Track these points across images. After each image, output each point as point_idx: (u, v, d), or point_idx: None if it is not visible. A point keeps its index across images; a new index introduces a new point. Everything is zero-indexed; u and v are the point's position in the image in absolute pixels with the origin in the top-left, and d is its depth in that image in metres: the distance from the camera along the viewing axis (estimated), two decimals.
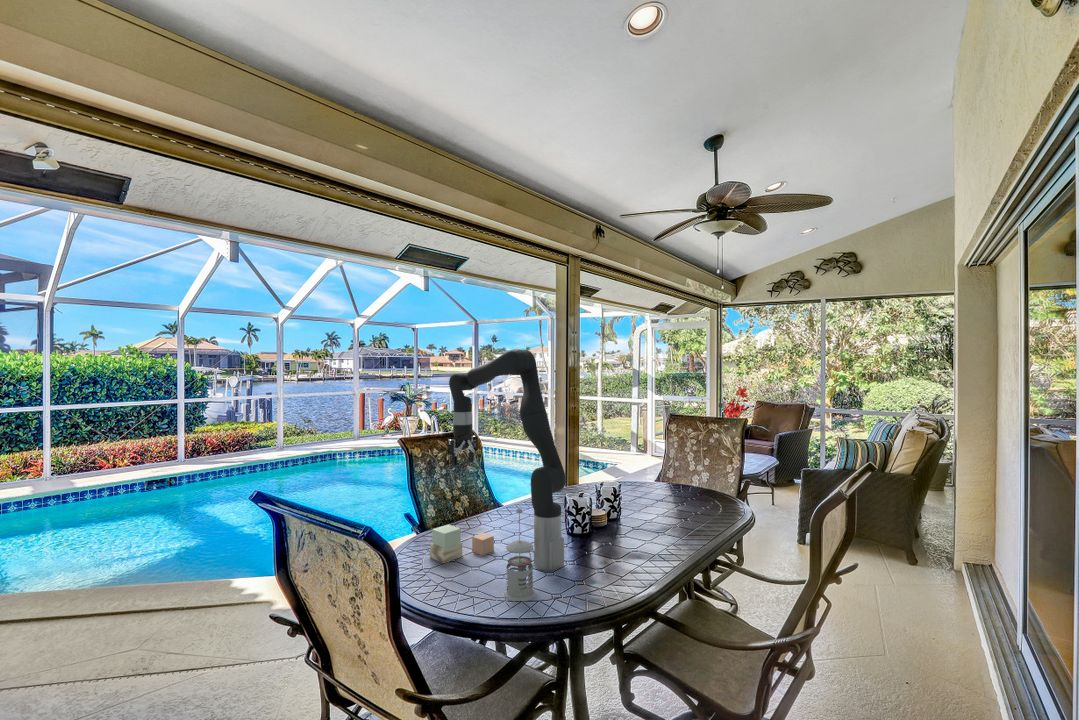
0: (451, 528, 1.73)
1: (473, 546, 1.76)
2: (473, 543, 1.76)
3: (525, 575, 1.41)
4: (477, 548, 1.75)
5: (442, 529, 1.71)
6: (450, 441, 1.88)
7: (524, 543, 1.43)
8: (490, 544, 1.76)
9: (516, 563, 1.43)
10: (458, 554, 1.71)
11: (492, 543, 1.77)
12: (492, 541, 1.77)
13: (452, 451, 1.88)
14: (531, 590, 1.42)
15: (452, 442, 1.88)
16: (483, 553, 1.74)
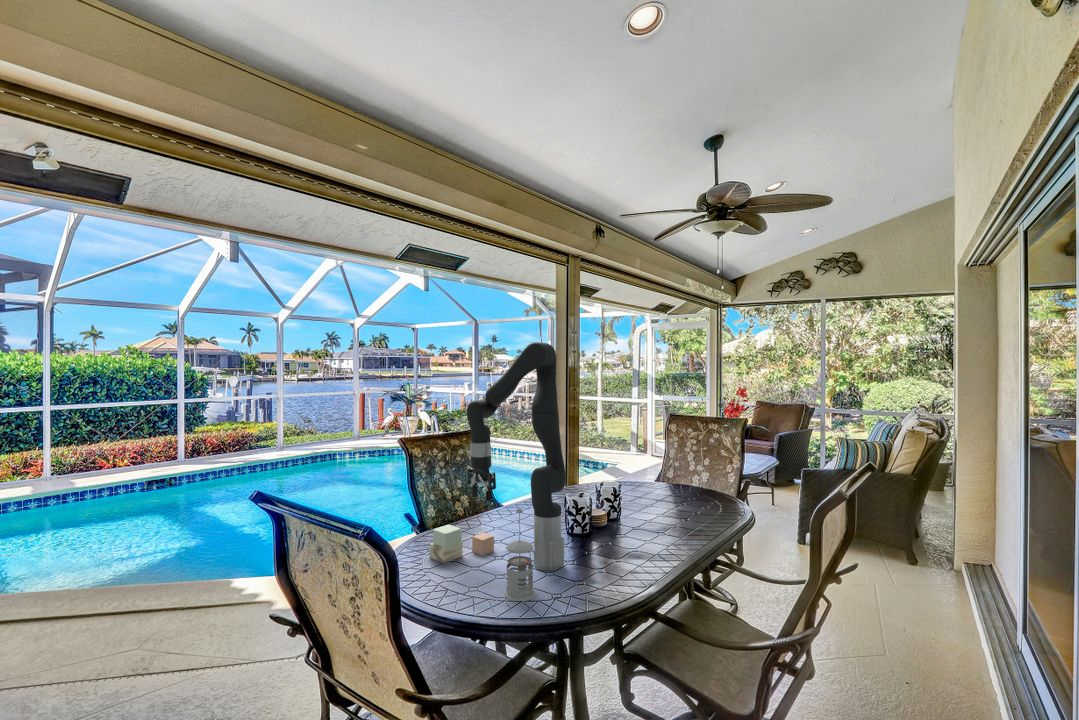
0: (452, 528, 1.73)
1: (473, 546, 1.76)
2: (473, 543, 1.76)
3: (525, 575, 1.41)
4: (477, 548, 1.75)
5: (442, 529, 1.71)
6: (493, 474, 1.74)
7: (524, 543, 1.43)
8: (490, 544, 1.76)
9: (516, 563, 1.43)
10: (458, 554, 1.71)
11: (492, 543, 1.77)
12: (492, 541, 1.77)
13: None
14: (531, 590, 1.42)
15: None
16: (483, 553, 1.74)
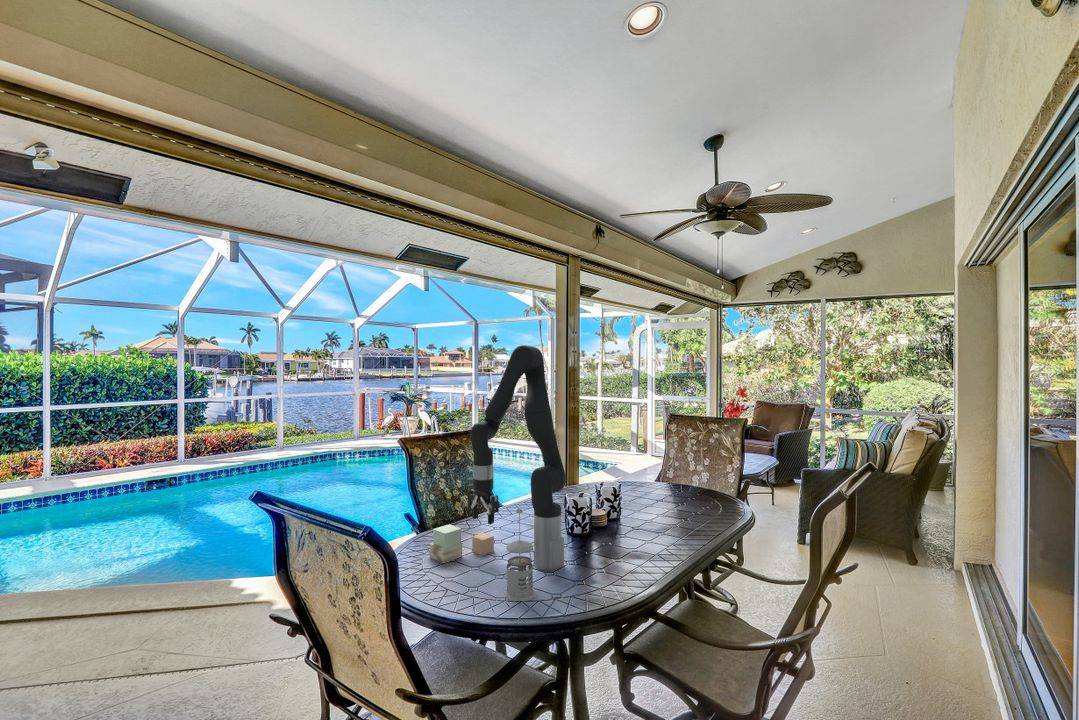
0: (452, 528, 1.73)
1: (473, 546, 1.76)
2: (473, 543, 1.76)
3: (525, 575, 1.41)
4: (477, 548, 1.75)
5: (442, 529, 1.72)
6: (496, 497, 1.73)
7: (524, 543, 1.43)
8: (490, 544, 1.76)
9: (516, 563, 1.43)
10: (458, 554, 1.71)
11: (492, 543, 1.77)
12: (492, 541, 1.77)
13: None
14: (531, 590, 1.42)
15: None
16: (483, 553, 1.74)
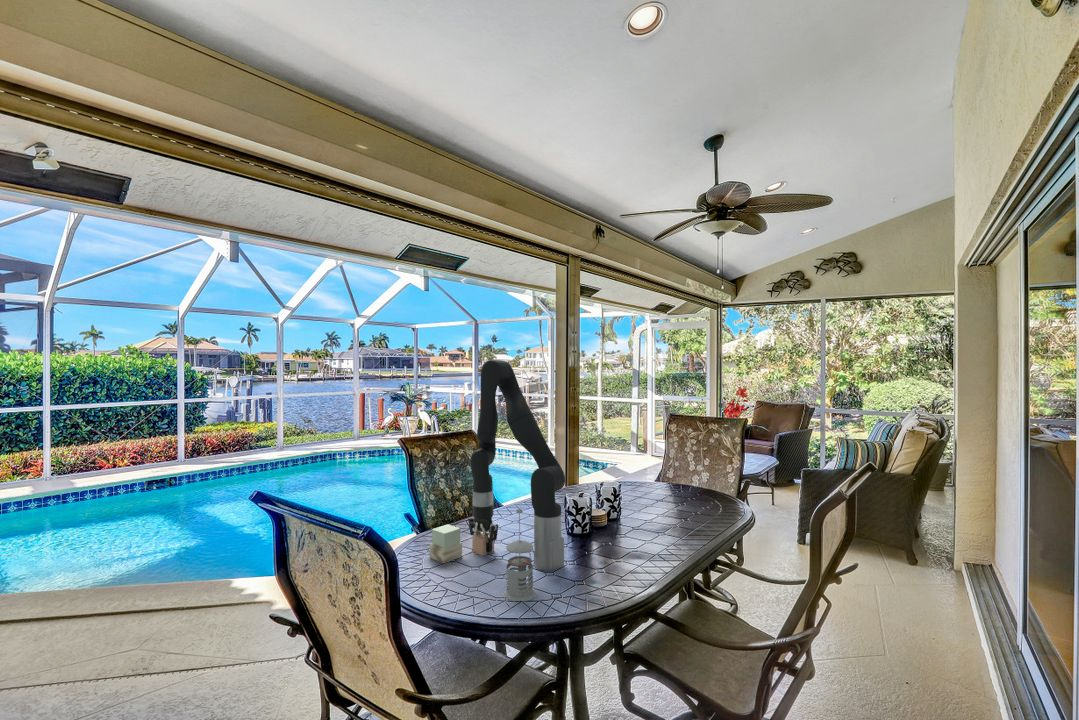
0: (451, 528, 1.73)
1: (473, 546, 1.77)
2: (473, 543, 1.77)
3: (525, 575, 1.41)
4: (477, 548, 1.75)
5: (441, 529, 1.71)
6: (496, 527, 1.73)
7: (524, 543, 1.43)
8: None
9: (516, 563, 1.43)
10: (458, 554, 1.71)
11: (492, 543, 1.77)
12: (492, 541, 1.77)
13: None
14: (531, 590, 1.42)
15: None
16: (483, 553, 1.74)
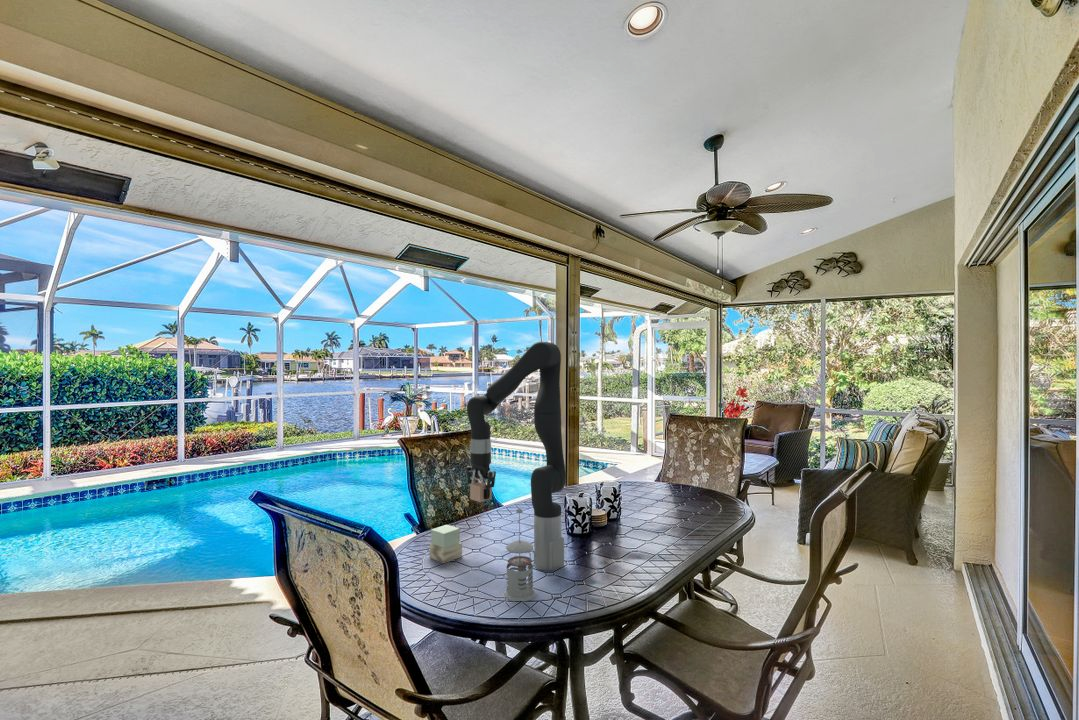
0: (450, 528, 1.73)
1: (471, 493, 1.77)
2: (471, 490, 1.77)
3: (525, 575, 1.41)
4: (475, 495, 1.75)
5: (441, 529, 1.71)
6: (494, 473, 1.73)
7: (524, 543, 1.43)
8: None
9: (516, 563, 1.43)
10: (458, 554, 1.71)
11: (490, 490, 1.77)
12: (490, 489, 1.77)
13: None
14: (531, 590, 1.42)
15: None
16: (481, 499, 1.74)
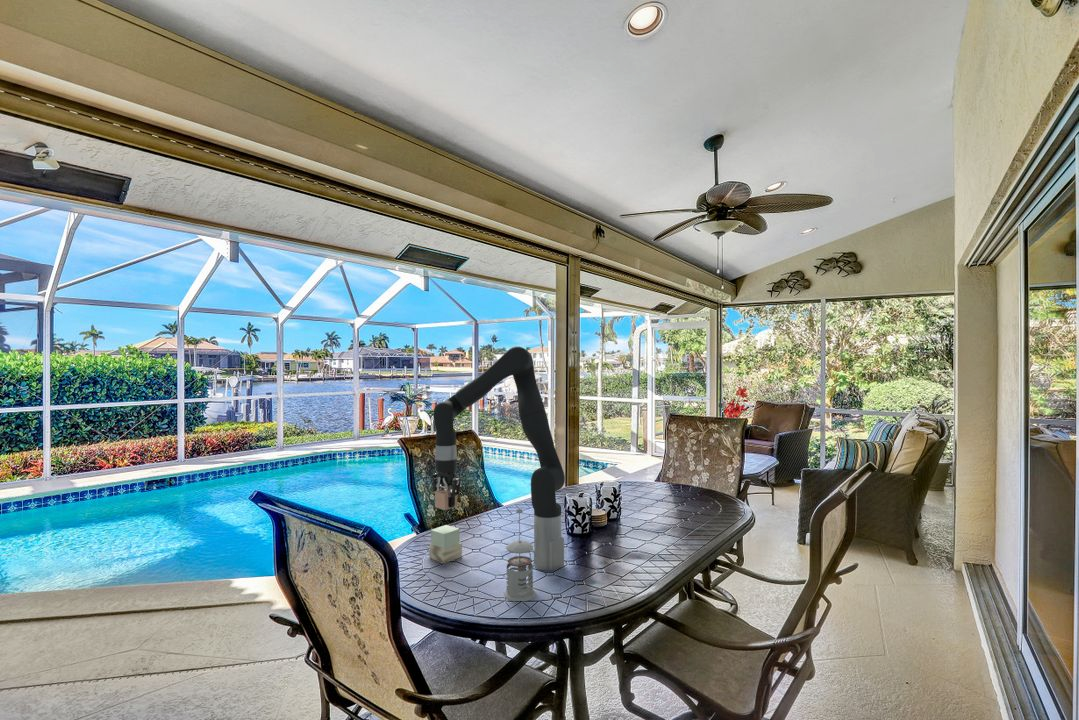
0: (450, 528, 1.73)
1: (436, 501, 1.72)
2: (436, 498, 1.72)
3: (525, 575, 1.41)
4: (439, 503, 1.71)
5: (441, 530, 1.71)
6: (459, 481, 1.68)
7: (524, 543, 1.43)
8: None
9: (516, 563, 1.43)
10: (458, 554, 1.71)
11: (455, 498, 1.72)
12: (456, 496, 1.72)
13: None
14: (531, 590, 1.42)
15: None
16: (445, 507, 1.69)
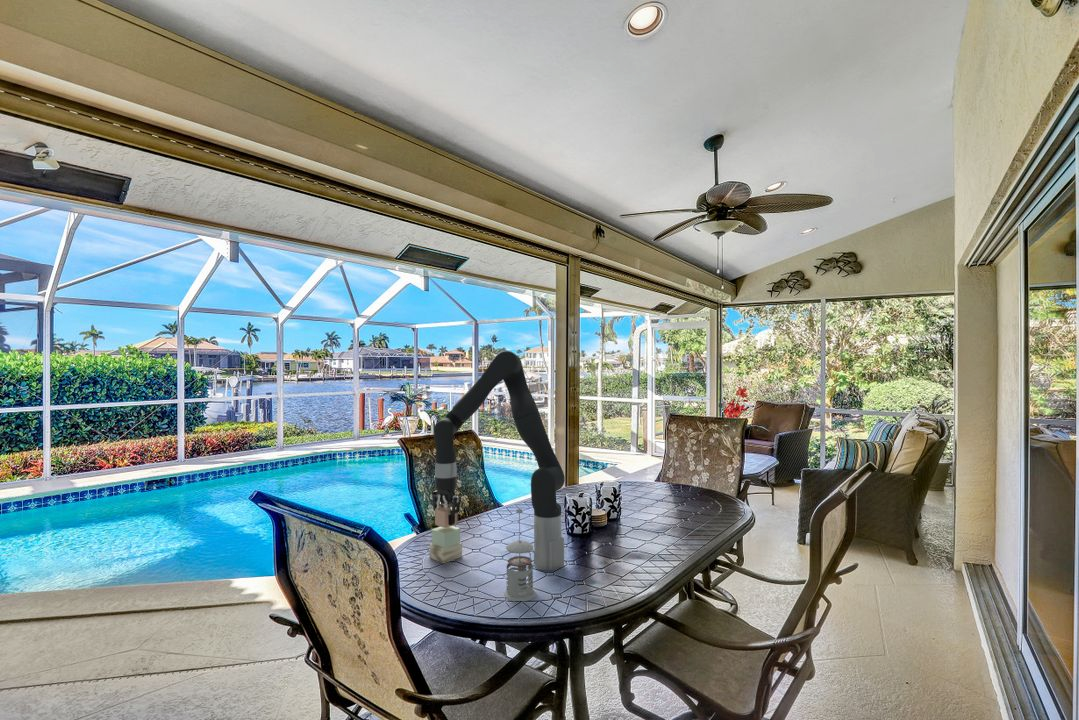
0: (451, 528, 1.73)
1: (436, 519, 1.72)
2: (436, 516, 1.72)
3: (525, 575, 1.41)
4: (439, 520, 1.70)
5: (441, 529, 1.71)
6: (459, 498, 1.68)
7: (524, 543, 1.43)
8: None
9: (516, 563, 1.43)
10: (458, 554, 1.71)
11: (455, 516, 1.72)
12: (456, 514, 1.72)
13: None
14: (531, 590, 1.42)
15: None
16: (445, 525, 1.69)
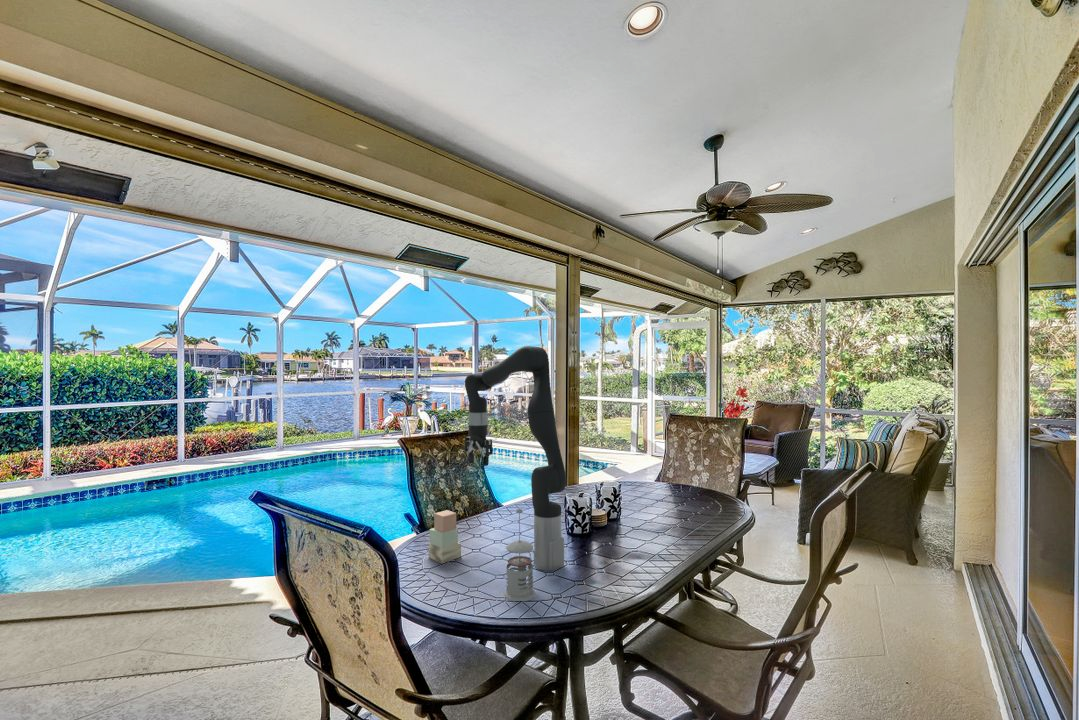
0: None
1: (435, 523, 1.72)
2: (435, 520, 1.72)
3: (525, 575, 1.41)
4: (438, 525, 1.70)
5: None
6: (490, 441, 1.90)
7: (524, 543, 1.43)
8: (452, 521, 1.71)
9: (516, 563, 1.43)
10: (457, 554, 1.71)
11: (454, 520, 1.72)
12: (455, 518, 1.72)
13: None
14: (531, 590, 1.42)
15: None
16: (444, 530, 1.69)
